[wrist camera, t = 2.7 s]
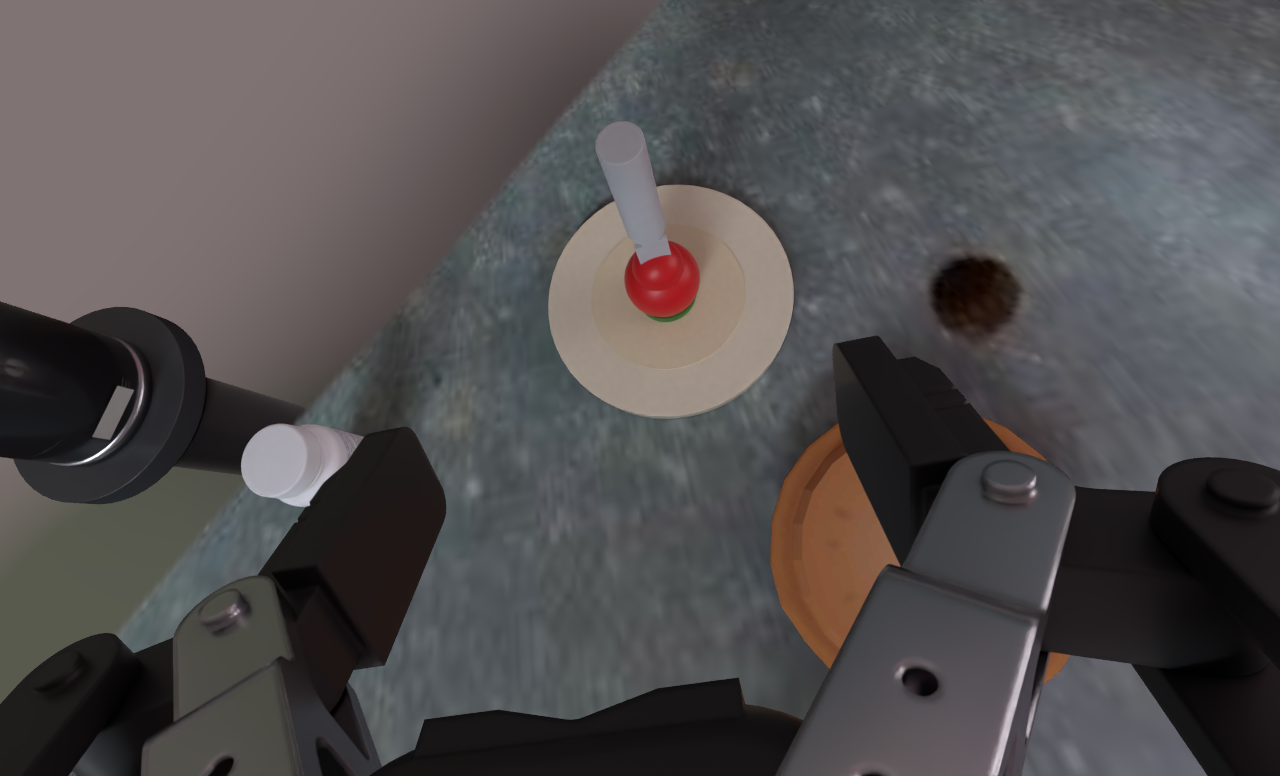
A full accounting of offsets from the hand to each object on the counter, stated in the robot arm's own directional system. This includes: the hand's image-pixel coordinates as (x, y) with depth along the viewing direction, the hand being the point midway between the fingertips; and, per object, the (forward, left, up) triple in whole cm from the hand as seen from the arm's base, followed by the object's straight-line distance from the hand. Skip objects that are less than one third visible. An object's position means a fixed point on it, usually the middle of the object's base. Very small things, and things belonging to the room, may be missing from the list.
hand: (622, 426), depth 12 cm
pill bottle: (-22, -4, -27) cm, 35 cm away
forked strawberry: (-5, +12, -26) cm, 29 cm away
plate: (-5, +12, -27) cm, 30 cm away
